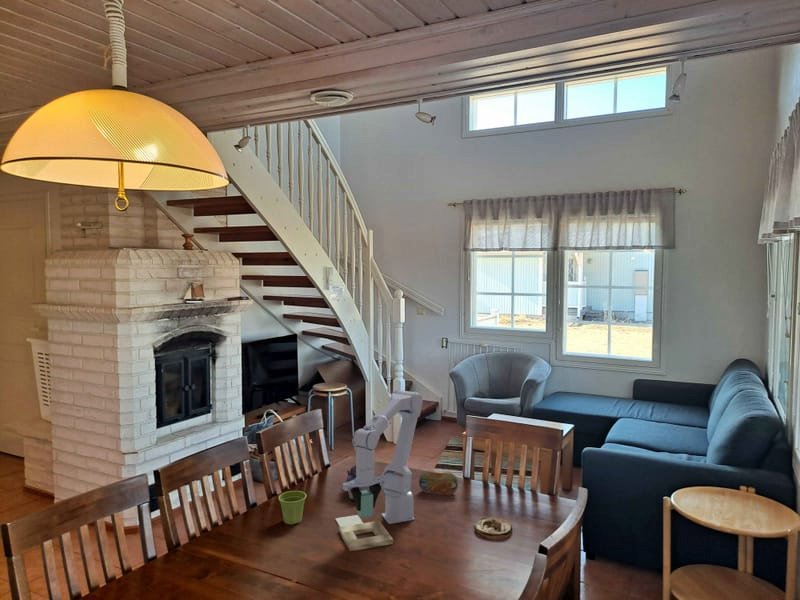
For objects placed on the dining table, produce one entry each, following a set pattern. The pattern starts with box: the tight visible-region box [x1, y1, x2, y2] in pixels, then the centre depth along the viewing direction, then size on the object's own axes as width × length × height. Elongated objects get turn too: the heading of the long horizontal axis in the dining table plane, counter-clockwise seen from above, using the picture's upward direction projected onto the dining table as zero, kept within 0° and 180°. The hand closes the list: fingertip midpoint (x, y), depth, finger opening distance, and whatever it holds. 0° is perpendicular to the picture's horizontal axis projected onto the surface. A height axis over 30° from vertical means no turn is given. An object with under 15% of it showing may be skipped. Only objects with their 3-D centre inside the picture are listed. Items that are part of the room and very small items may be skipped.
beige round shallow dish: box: [473, 517, 513, 540], centre depth 184 cm, size 15×15×4 cm
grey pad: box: [335, 514, 364, 528], centre depth 190 cm, size 8×8×1 cm
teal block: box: [357, 490, 374, 519], centre depth 179 cm, size 4×4×7 cm
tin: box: [418, 470, 459, 496], centre depth 216 cm, size 15×3×8 cm, turn 73°
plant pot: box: [278, 490, 307, 525], centre depth 191 cm, size 9×9×9 cm
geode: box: [345, 465, 369, 501], centre depth 217 cm, size 20×12×10 cm, turn 14°
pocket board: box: [338, 520, 394, 552], centre depth 180 cm, size 14×14×1 cm
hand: (365, 508), depth 179 cm, fingers closed on teal block, 4 cm apart
